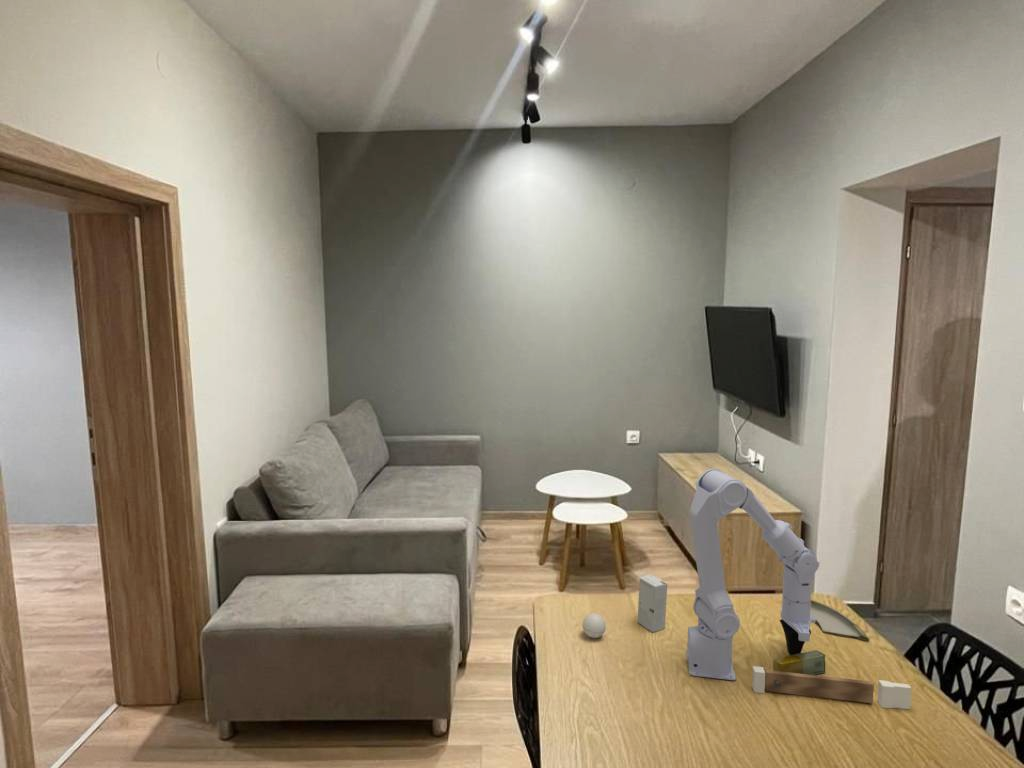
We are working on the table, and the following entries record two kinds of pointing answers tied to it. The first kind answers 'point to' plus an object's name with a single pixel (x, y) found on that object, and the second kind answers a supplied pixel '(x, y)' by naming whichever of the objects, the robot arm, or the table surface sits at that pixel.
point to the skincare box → (652, 602)
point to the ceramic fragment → (835, 622)
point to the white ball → (594, 625)
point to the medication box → (801, 663)
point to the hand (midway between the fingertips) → (793, 654)
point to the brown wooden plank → (819, 686)
